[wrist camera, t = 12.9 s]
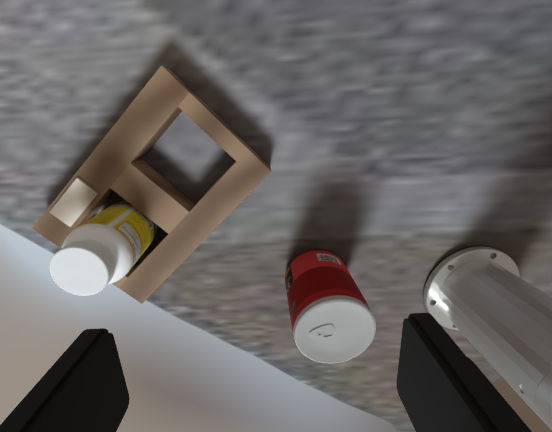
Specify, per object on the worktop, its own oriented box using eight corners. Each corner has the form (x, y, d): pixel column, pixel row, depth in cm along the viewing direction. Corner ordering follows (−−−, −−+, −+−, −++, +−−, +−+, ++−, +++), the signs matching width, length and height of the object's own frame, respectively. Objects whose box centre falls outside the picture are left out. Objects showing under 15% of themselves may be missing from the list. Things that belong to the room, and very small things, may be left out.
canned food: (274, 263, 38) (280, 320, 27) (332, 237, 37) (360, 285, 26) (298, 307, 40) (313, 376, 30) (353, 284, 39) (387, 345, 29)
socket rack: (270, 166, 33) (271, 171, 30) (150, 289, 38) (140, 305, 35) (170, 69, 30) (160, 64, 27) (50, 218, 34) (29, 229, 31)
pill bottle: (97, 235, 35) (29, 287, 25) (114, 190, 33) (48, 225, 23) (148, 256, 36) (104, 313, 26) (166, 213, 35) (126, 256, 24)
